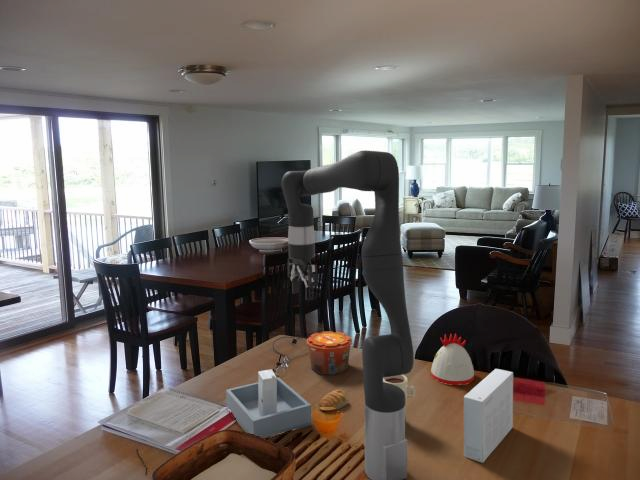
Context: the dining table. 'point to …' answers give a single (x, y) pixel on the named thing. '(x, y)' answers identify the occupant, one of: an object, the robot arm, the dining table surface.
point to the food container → (329, 352)
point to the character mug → (401, 384)
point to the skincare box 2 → (488, 414)
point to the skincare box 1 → (267, 392)
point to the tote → (289, 414)
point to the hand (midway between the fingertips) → (302, 296)
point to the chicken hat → (452, 363)
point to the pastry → (334, 399)
